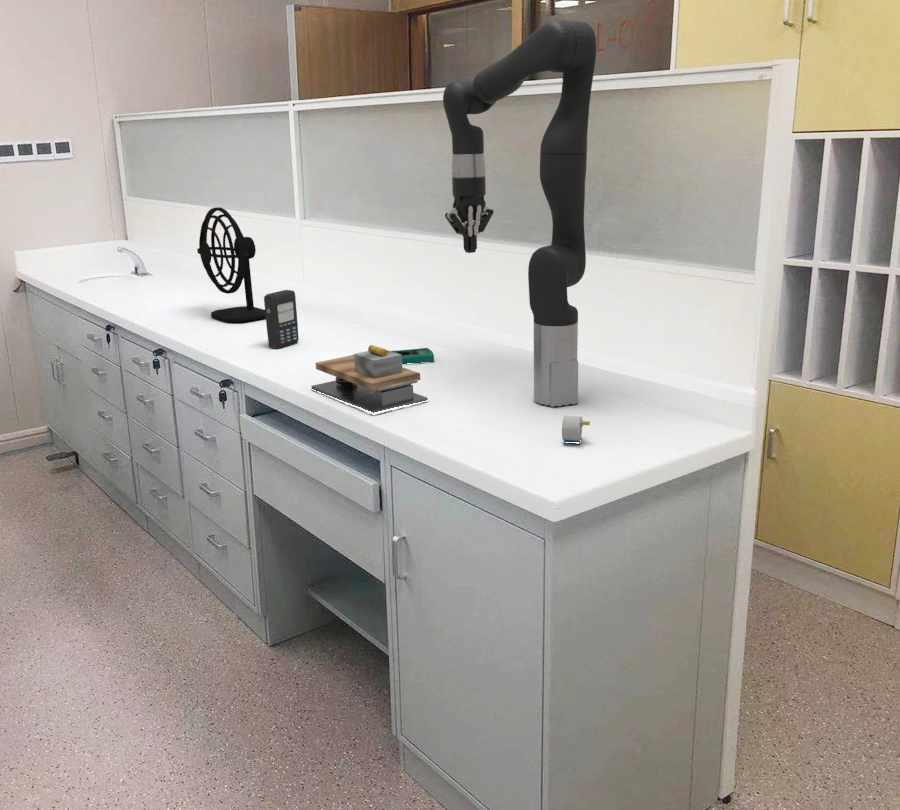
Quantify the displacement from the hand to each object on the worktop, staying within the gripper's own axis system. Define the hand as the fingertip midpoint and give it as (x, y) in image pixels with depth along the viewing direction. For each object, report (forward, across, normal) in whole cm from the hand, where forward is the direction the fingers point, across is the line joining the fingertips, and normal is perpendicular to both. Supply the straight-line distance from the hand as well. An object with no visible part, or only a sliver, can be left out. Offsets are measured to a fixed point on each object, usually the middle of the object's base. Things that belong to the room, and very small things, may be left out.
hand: (470, 252), depth 205 cm
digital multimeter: (+30, -5, +21) cm, 37 cm away
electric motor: (+29, -16, -50) cm, 61 cm away
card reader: (+29, -20, +59) cm, 69 cm away
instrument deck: (+24, -29, +2) cm, 38 cm away
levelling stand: (+29, -29, +2) cm, 41 cm away
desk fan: (+29, -12, +105) cm, 110 cm away
